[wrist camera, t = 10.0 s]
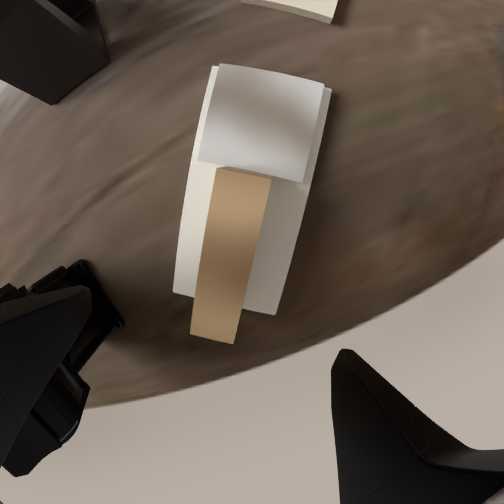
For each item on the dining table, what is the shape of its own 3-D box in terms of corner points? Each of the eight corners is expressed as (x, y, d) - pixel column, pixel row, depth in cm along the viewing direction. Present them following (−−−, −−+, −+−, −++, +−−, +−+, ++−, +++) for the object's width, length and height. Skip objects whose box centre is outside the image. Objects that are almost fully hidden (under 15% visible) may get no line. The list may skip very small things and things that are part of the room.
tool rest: (275, 310, 19) (275, 315, 19) (175, 288, 19) (172, 292, 19) (329, 91, 15) (331, 89, 14) (214, 68, 14) (212, 65, 14)
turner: (265, 314, 19) (264, 350, 15) (179, 294, 19) (160, 325, 15) (322, 87, 14) (336, 67, 10) (222, 67, 14) (208, 42, 10)
